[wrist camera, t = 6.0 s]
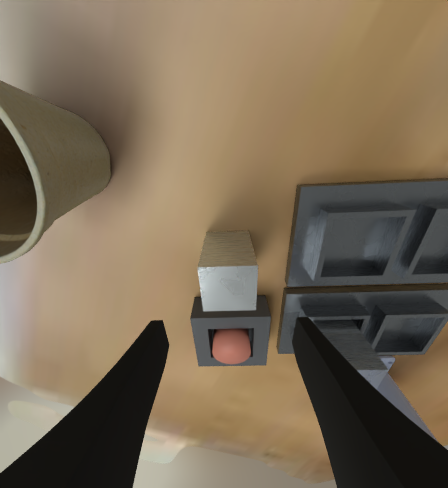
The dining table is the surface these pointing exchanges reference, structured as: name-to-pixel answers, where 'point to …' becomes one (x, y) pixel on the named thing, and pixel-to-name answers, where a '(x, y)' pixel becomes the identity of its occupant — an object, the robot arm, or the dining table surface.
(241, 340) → the button
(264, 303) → the box
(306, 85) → the dining table surface
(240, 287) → the billet
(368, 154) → the dining table surface
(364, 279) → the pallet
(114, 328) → the dining table surface
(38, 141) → the flower pot
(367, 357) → the billet
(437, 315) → the pallet
